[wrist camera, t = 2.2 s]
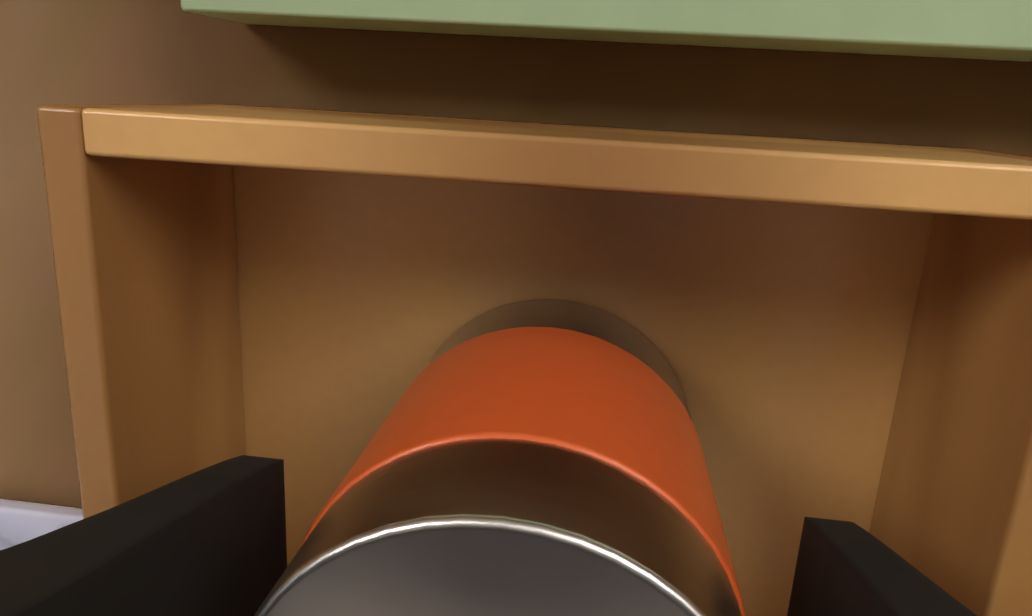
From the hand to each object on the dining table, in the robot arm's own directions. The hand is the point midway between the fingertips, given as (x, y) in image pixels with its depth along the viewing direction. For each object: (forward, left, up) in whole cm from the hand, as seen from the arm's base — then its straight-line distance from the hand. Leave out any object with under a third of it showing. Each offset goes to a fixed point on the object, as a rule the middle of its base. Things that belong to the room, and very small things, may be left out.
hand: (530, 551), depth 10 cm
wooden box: (0, 0, -5) cm, 5 cm away
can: (0, 0, -4) cm, 4 cm away
